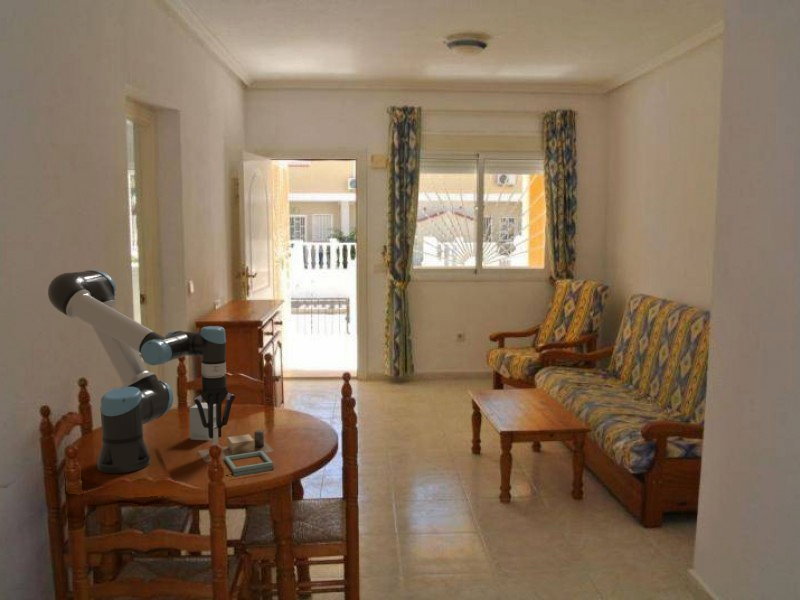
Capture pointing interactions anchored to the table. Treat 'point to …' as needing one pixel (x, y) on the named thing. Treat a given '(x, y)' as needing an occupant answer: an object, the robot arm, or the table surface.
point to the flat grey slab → (258, 446)
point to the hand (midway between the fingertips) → (215, 447)
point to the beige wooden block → (240, 444)
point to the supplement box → (195, 422)
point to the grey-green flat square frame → (249, 467)
